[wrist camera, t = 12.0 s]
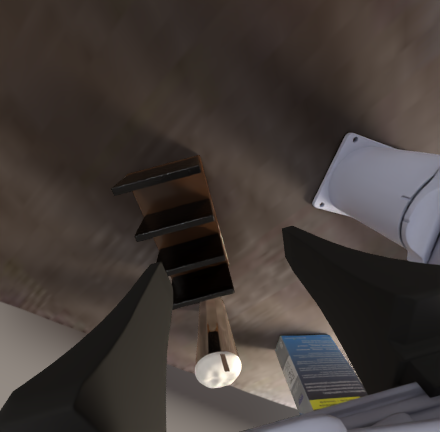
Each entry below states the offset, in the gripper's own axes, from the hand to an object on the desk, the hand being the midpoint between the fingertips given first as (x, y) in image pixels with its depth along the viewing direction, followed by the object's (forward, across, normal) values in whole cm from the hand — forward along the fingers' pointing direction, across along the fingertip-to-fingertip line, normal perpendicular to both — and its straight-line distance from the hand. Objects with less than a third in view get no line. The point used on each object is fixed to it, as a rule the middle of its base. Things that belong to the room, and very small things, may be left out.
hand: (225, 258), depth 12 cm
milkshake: (+11, +4, +14) cm, 18 cm away
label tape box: (+11, -8, +28) cm, 31 cm away
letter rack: (+10, +3, +2) cm, 11 cm away
